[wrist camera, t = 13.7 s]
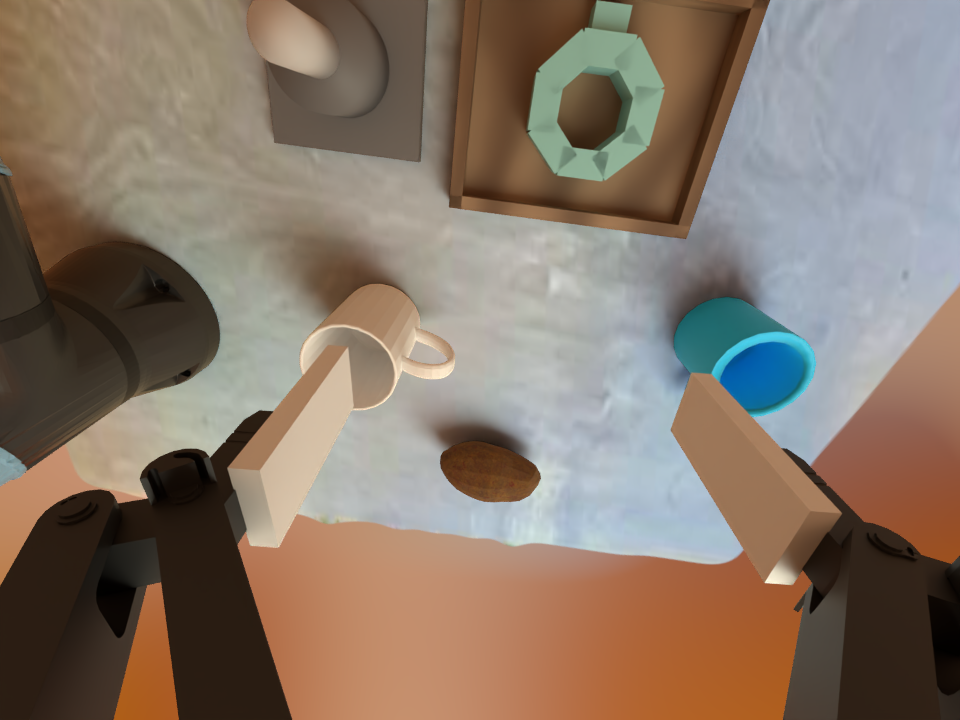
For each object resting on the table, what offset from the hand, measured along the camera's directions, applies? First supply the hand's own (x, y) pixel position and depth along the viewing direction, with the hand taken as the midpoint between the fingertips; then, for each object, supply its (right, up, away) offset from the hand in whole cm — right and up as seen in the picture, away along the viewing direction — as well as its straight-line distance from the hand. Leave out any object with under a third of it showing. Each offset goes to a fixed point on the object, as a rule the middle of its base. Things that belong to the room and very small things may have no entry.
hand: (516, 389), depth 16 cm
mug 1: (-9, +5, +26) cm, 28 cm away
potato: (0, -10, +34) cm, 35 cm away
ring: (+7, +20, +16) cm, 27 cm away
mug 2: (+22, +2, +26) cm, 34 cm away
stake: (-12, +24, +16) cm, 31 cm away
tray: (+7, +21, +17) cm, 27 cm away
